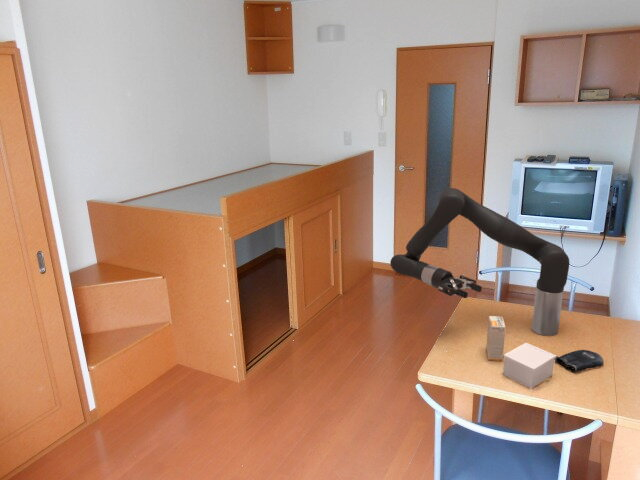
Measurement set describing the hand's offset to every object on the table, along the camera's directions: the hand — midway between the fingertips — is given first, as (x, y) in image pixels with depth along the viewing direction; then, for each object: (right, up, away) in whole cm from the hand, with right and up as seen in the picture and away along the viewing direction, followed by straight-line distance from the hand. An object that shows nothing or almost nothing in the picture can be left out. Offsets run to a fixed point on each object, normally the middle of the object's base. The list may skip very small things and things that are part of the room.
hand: (474, 292), depth 173 cm
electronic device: (+34, -24, -7) cm, 42 cm away
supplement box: (+7, -22, -1) cm, 23 cm away
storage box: (+13, -25, -13) cm, 31 cm away
